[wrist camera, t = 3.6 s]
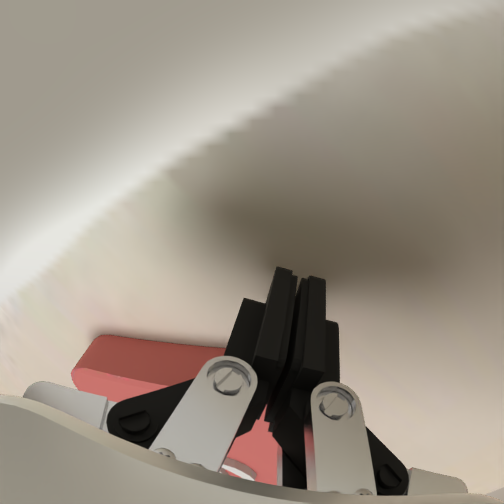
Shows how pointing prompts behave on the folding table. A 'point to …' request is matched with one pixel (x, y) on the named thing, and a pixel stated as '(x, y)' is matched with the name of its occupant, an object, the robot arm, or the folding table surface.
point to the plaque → (164, 375)
